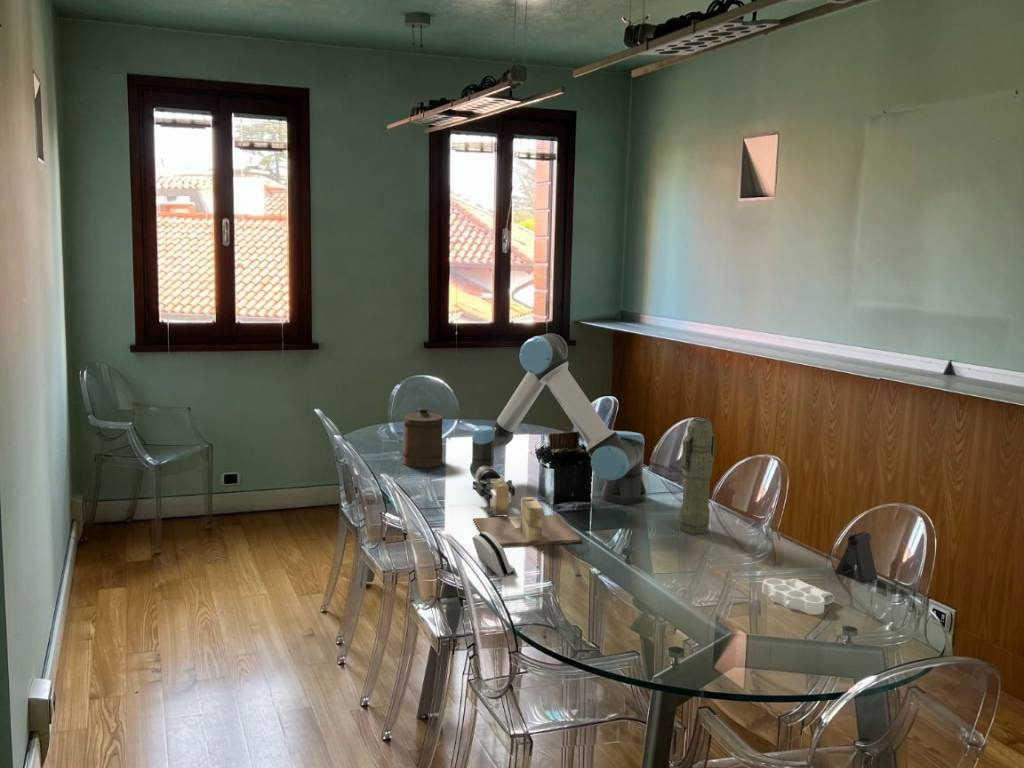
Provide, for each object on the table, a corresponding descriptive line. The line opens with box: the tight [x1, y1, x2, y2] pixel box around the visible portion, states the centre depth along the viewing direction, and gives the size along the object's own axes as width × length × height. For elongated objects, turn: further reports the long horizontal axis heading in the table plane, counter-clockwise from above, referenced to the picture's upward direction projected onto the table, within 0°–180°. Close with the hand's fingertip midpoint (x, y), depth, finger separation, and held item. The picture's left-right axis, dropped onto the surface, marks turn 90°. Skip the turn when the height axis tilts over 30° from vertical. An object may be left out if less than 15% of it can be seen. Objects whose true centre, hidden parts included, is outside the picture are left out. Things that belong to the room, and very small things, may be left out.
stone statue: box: [679, 417, 716, 536], centre depth 296 cm, size 9×12×35 cm
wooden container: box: [402, 405, 443, 469], centre depth 369 cm, size 15×15×22 cm
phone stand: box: [835, 531, 878, 584], centre depth 263 cm, size 9×6×12 cm, turn 36°
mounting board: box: [472, 496, 582, 548], centre depth 292 cm, size 28×24×11 cm
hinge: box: [471, 532, 517, 578], centre depth 264 cm, size 17×5×10 cm, turn 23°
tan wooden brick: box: [489, 477, 509, 516], centre depth 311 cm, size 4×9×10 cm, turn 13°
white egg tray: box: [761, 577, 836, 615], centre depth 246 cm, size 3×18×15 cm
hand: (502, 499), depth 305 cm, fingers closed on tan wooden brick, 4 cm apart
